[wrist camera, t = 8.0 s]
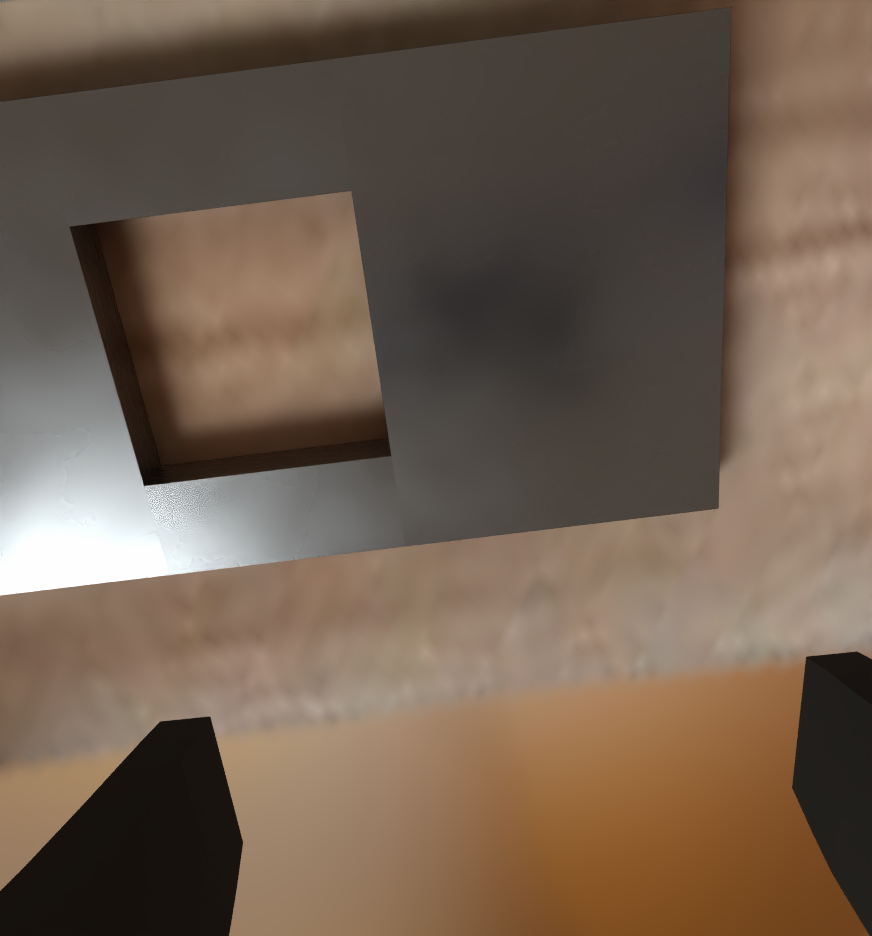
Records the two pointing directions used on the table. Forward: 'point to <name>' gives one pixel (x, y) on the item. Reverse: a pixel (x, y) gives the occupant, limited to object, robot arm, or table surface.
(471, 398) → the bracket
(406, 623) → the table surface
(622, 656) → the table surface
